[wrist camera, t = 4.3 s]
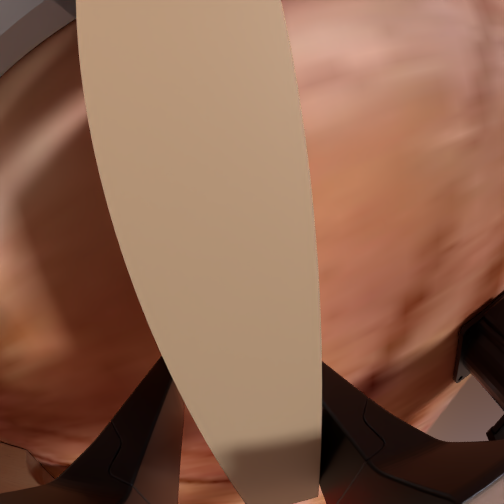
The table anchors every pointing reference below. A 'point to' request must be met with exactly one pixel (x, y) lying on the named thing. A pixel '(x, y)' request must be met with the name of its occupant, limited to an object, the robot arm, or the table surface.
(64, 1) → the strip
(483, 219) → the table surface
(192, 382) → the beige flat block
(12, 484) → the wooden toy
